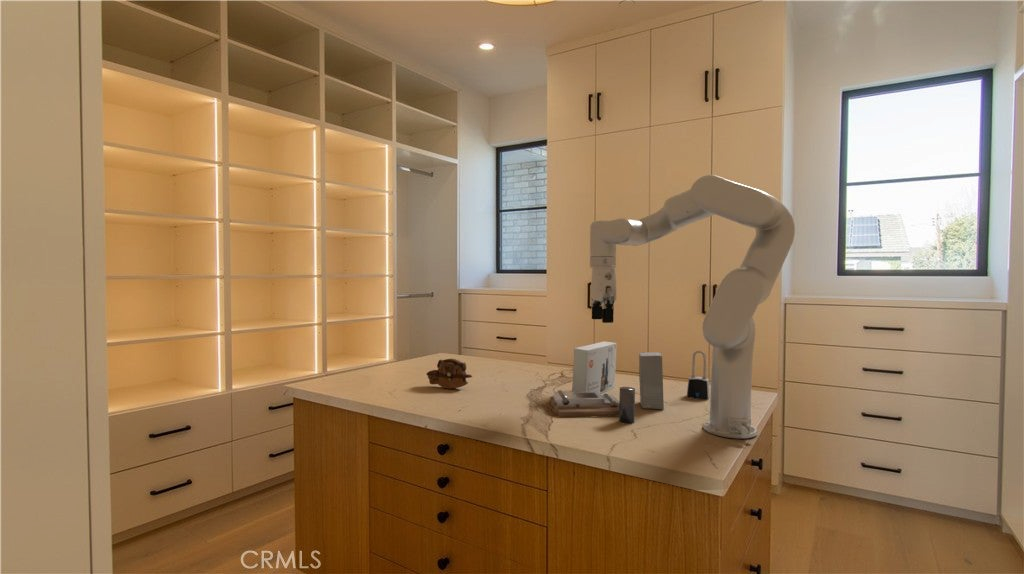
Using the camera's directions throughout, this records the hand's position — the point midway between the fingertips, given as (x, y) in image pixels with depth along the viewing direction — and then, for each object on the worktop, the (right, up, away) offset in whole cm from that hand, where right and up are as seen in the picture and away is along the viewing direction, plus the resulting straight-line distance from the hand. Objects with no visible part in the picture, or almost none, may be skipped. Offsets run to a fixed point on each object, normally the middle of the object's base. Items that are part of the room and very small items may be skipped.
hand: (602, 320), depth 150 cm
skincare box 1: (+1, -25, +17) cm, 30 cm away
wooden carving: (-48, -24, +21) cm, 58 cm away
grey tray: (-5, -24, -2) cm, 25 cm away
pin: (+4, -26, -14) cm, 30 cm away
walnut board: (-5, -26, -2) cm, 26 cm away
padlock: (+33, -26, +12) cm, 44 cm away
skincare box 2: (+15, -26, +2) cm, 30 cm away
